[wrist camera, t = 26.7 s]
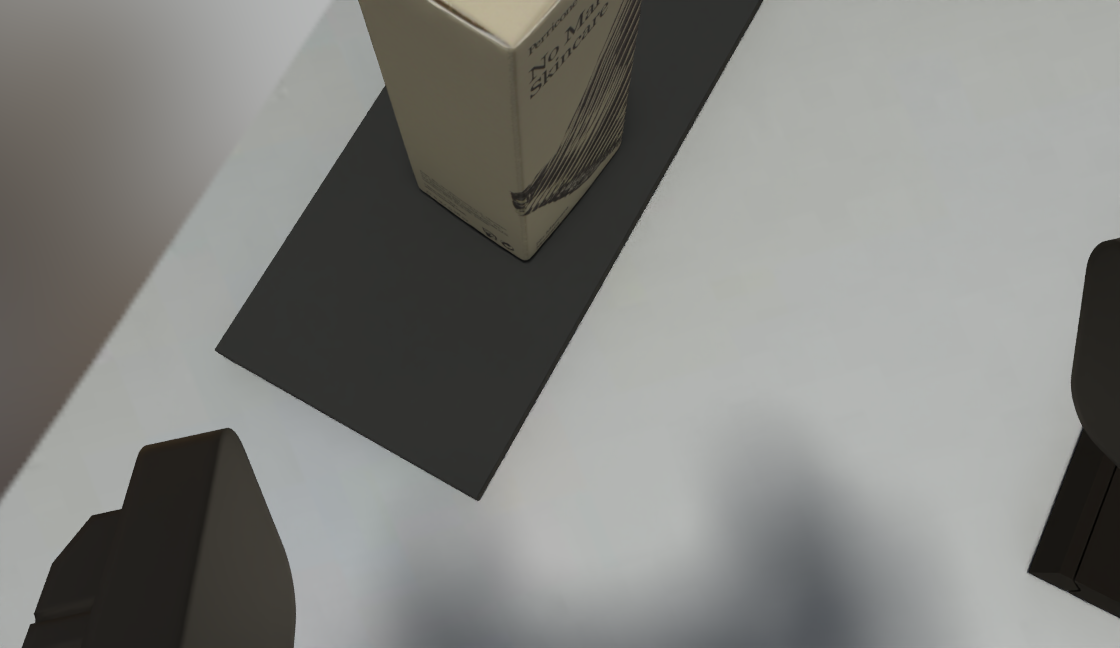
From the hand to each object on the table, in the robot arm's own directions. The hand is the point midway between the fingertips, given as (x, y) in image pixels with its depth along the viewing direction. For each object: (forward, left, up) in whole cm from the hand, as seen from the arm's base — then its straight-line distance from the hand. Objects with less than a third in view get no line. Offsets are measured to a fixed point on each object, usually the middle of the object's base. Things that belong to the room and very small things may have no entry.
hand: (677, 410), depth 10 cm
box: (0, +11, -21) cm, 23 cm away
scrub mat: (0, +12, -22) cm, 25 cm away
